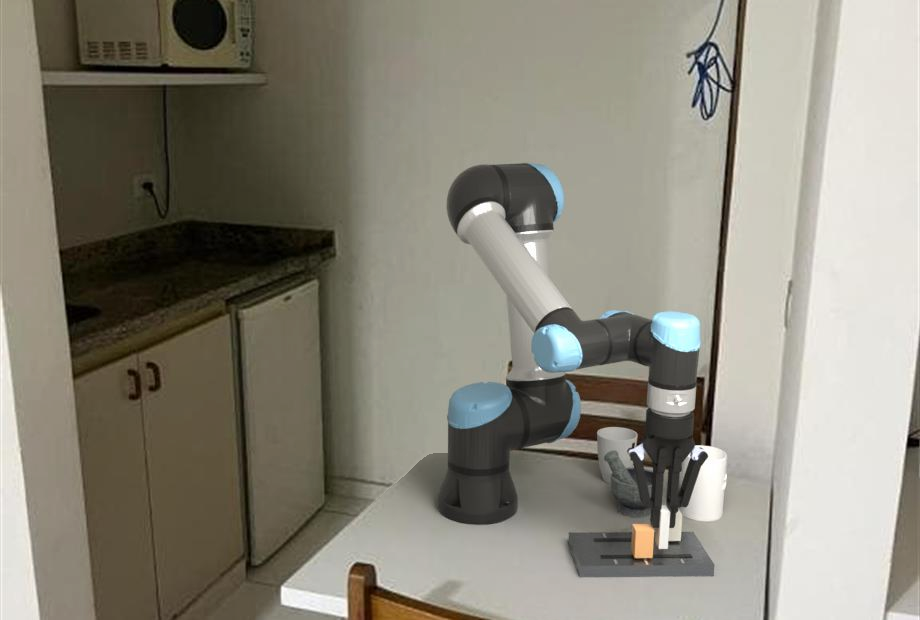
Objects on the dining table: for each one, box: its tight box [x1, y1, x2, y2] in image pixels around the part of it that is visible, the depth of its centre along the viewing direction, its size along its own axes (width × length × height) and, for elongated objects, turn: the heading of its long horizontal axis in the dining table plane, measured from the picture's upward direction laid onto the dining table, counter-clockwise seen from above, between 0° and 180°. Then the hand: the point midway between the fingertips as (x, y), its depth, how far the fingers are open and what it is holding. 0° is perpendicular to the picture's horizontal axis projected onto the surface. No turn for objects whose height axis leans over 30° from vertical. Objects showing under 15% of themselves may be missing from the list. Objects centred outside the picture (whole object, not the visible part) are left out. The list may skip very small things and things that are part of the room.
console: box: [568, 531, 715, 578], centre depth 156 cm, size 22×12×2 cm, turn 92°
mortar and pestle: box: [604, 451, 653, 519], centre depth 173 cm, size 11×9×12 cm
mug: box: [678, 444, 728, 523], centre depth 175 cm, size 8×12×12 cm
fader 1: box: [631, 523, 655, 558], centre depth 152 cm, size 3×3×5 cm
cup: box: [596, 426, 638, 484], centre depth 188 cm, size 8×8×10 cm
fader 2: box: [668, 508, 683, 541], centre depth 158 cm, size 3×3×5 cm
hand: (661, 544), depth 152 cm, fingers closed
